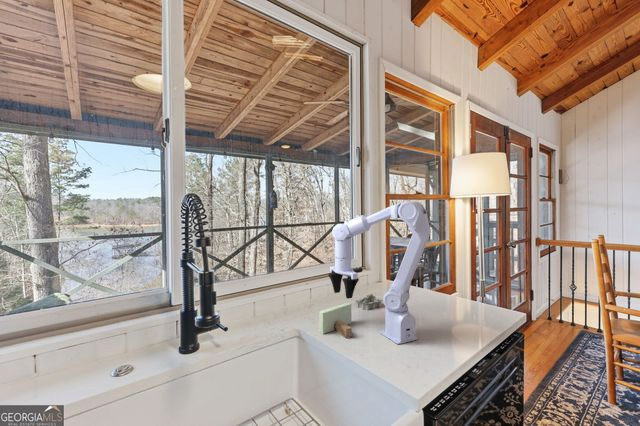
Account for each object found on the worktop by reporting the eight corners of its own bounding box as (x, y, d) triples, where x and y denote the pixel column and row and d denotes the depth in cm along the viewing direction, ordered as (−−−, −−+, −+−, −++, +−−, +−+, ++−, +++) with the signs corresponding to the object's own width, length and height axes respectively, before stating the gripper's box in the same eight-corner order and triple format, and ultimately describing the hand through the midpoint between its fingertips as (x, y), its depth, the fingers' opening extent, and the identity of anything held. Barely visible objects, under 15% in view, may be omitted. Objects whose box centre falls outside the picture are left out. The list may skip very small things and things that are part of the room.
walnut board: (351, 337, 95) (351, 328, 95) (346, 338, 94) (346, 329, 94) (326, 318, 111) (326, 310, 111) (322, 319, 110) (322, 311, 110)
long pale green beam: (347, 321, 108) (347, 302, 108) (351, 323, 106) (351, 303, 106) (318, 332, 99) (318, 311, 98) (322, 334, 97) (322, 313, 97)
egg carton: (372, 302, 131) (372, 293, 130) (384, 307, 124) (384, 297, 124) (353, 306, 125) (353, 296, 125) (364, 311, 119) (364, 301, 119)
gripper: (364, 259, 101) (364, 298, 101) (340, 253, 114) (340, 288, 114) (347, 261, 97) (347, 302, 98) (325, 255, 110) (325, 291, 110)
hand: (343, 295), depth 106 cm, fingers open, 7 cm apart
